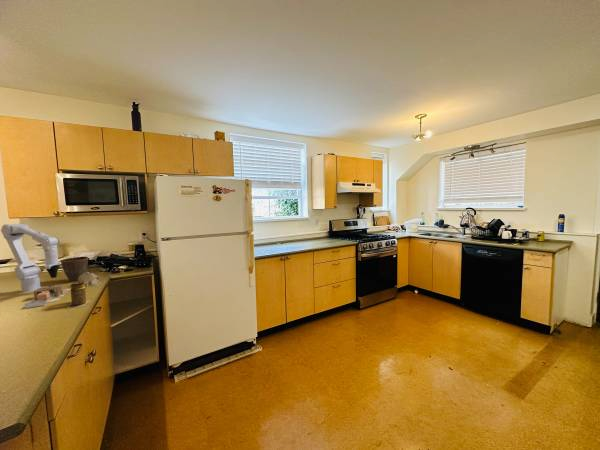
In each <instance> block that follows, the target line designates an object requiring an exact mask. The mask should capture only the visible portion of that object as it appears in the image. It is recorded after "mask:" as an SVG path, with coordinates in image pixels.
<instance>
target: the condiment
mask: <svg viewBox="0 0 600 450" xmlns="http://www.w3.org/2000/svg"><path fill="white" fill-rule="evenodd" d="M70 288H71V290H70V298H71V304H70V305H68V306H67V307H66V309H73V308H78V307H80V308H81V307H84V306H86V304H88V303H89V300H87V293H86V287H85V286H84V282H79V281H77V282H71V284H70Z"/></svg>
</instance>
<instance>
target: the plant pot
mask: <svg viewBox="0 0 600 450" xmlns="http://www.w3.org/2000/svg"><path fill="white" fill-rule="evenodd" d="M60 262H61V264H60V265H61V267H62V270H63V272H64V274H65V276H66V278H67V279H68V281H69V282H70V283H75V282H79V281H78V278H79V277H80V275H82V274H83V273H86V272H87V268H88V264H89V257H88V256H76V257H75V256H74V257H68V258H63V259H61V260H60Z"/></svg>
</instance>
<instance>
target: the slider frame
mask: <svg viewBox="0 0 600 450" xmlns="http://www.w3.org/2000/svg"><path fill="white" fill-rule="evenodd" d="M53 286H55V285H54V284H50V285H48V286H47V287H53ZM43 292H44V293H45V292H46V291H43ZM49 292H50V294H53V295H50V297H49V298H48V299H42V300H37V298H35V299H34V300H32V299H31V300H32V301H31V302H29V301H28V302H29V303H28V304H26V303H25V304H26V305H25V304H24V305H25V307H24V308H25V309H28V308H37V307H43V306H45V305H47V304H49V303H48V302H49V301H50V300H52V299H53V298H54V297H55V296H56V291H55V290H49Z"/></svg>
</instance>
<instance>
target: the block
mask: <svg viewBox="0 0 600 450" xmlns="http://www.w3.org/2000/svg"><path fill="white" fill-rule="evenodd" d="M44 292H45V293H40V294H38V295H37V300H42V299H48V298H49V297H50V292H46V291H44Z"/></svg>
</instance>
